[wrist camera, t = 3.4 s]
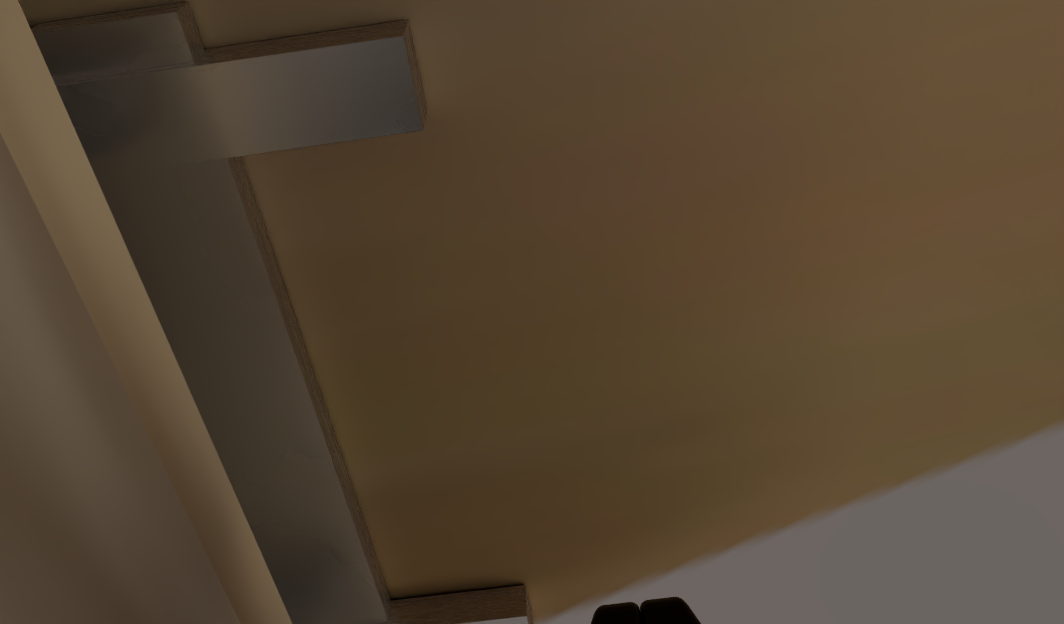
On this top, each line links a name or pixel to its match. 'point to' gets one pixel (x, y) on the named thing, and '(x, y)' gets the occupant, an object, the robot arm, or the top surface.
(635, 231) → the top surface
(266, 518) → the framed panel
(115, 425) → the beige open rectangular box
